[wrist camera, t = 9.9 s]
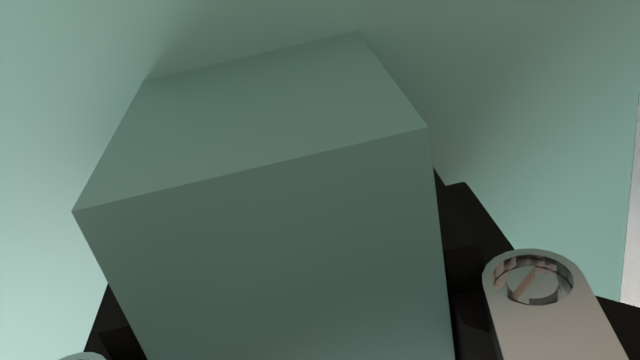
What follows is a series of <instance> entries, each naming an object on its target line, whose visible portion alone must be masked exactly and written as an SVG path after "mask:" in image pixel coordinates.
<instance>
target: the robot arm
mask: <svg viewBox="0 0 640 360" xmlns="http://www.w3.org/2000/svg"><path fill="white" fill-rule="evenodd" d="M433 171H434V180H435V189H436V197H437V206H438V215H439V224H440V232H441V241H442V250H443V258H444V267H445V276H446V285H447V293H448V302H449V311H450V319H451V328H452V337H453V346H454V354H455V360H640V308H638V307H635V306H631V305H628V304H624V303H621V302H617V301H614V300H610V299H607V298H603V297H599V296H596V295H594V293H593V291H592V289H591V287H590V285H589V284H588V282H587V280H586V278H585V276H584V274H583V273H582V271H581V270H580V269H579V268H578V266H577V265H576V264H575V263H573V262H572V261H570V260H569V259H567V258H566V257H564V256H562V255H559V254H557V253H554V252H551V251H547V250H541V249H535V248H534V249H517V250H515V249H514V248H513V246H512V245H511V244H510V242H509V241H508V239H507V238H506V237H505V235H504V234H503V232H502V231H501V230H500V228H499V227H498V226H497V224H496V223H495V221H494V220H493V219H492V217H491V216H490V215H489V213H488V212H487V210H486V209H485V208H484V206H483V205H482V204H481V202H480V201H479V199H478V198H477V197H476V195H475V194H474V193H473V191H472V190H471V188H470V187H469V186H468V185H467V184H466V183H465V182H459V183H455V184H451V185H447V186H445V184H444V183H443V181H442V180H441V178H440V176H439V175H438V173H437V172H436V170H435V169H434V167H433ZM59 360H148V359H147V357H146V355H145V353H144V351H143V349H142V347H141V345H140V344H139V342H138V340H137V338H136V336H135V334H134V332H133V330H132V328H131V326H130V324H129V322H128V320H127V318H126V316H125V315H124V313H123V311H122V309H121V307H120V305H119V303H118V301H117V299H116V297H115V295H114V293H113V291H112V289H111V287H110V286H109V284H107V287H106V290H105V293H104V295H103V298H102V301H101V304H100V307H99V309H98V312H97V315H96V318H95V320H94V323H93V326H92V329H91V332H90V334H89V337H88V340H87V343H86V346H85V348H84V351H83V352H80V353H76V354H72V355H68V356H66V357H63V358H61V359H59Z"/></svg>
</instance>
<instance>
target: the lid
mask: <svg viewBox="0 0 640 360" xmlns="http://www.w3.org/2000/svg"><path fill="white" fill-rule="evenodd" d="M639 92H640V0H0V360H59V359H61V358H63V357H66V356H68V355H72V354H76V353H80V352H83V351H84V348H85V346H86V343H87V340H88V337H89V334H90V332H91V329H92V326H93V323H94V320H95V318H96V315H97V312H98V309H99V307H100V304H101V301H102V298H103V295H104V293H105V290H106V287H107V284H109V286H110V287H111V289H112V291H113V293H114V295H115V297H116V299H117V301H118V303H119V305H120V307H121V309H122V311H123V313H124V315H125V316H126V318H127V320H128V322H129V324H130V326H131V328H132V330H133V332H134V334H135V336H136V338H137V340H138V342H139V344H140V345H141V347H142V349H143V351H144V353H145V355H146V357H147V359H148V360H455V354H454V346H453V337H452V328H451V319H450V311H449V302H448V293H447V285H446V276H445V267H444V258H443V250H442V241H441V232H440V224H439V215H438V206H437V197H436V189H435V180H434V171H433V167H434V169H435V170H436V172H437V173H438V175H439V176H440V178H441V180H442V181H443V183H444V184H445V186H447V185H451V184H455V183H459V182H465V183H466V184H467V185H468V186H469V187H470V188H471V190H472V191H473V193H474V194H475V195H476V197H477V198H478V199H479V201H480V202H481V204H482V205H483V206H484V208H485V209H486V210H487V212H488V213H489V215H490V216H491V217H492V219H493V220H494V221H495V223H496V224H497V226H498V227H499V228H500V230H501V231H502V232H503V234H504V235H505V237H506V238H507V239H508V241H509V242H510V244H511V245H512V246H513V248H514V249H515V250H517V249H534V248H535V249H541V250H547V251H551V252H554V253H557V254H559V255H562V256H564V257H566V258H567V259H569V260H570V261H572V262H573V263H575V264H576V265H577V266H578V268H579V269H580V270H581V271H582V273H583V274H584V276H585V278H586V280H587V282H588V284H589V285H590V287H591V289H592V291H593V293H594V295H596V296H599V297H603V298H607V299H610V300H614V301H617V302H620V294H621V284H622V273H623V262H624V252H625V241H626V230H627V220H628V209H629V198H630V188H631V177H632V166H633V156H634V145H635V134H636V124H637V113H638V102H639Z"/></svg>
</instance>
